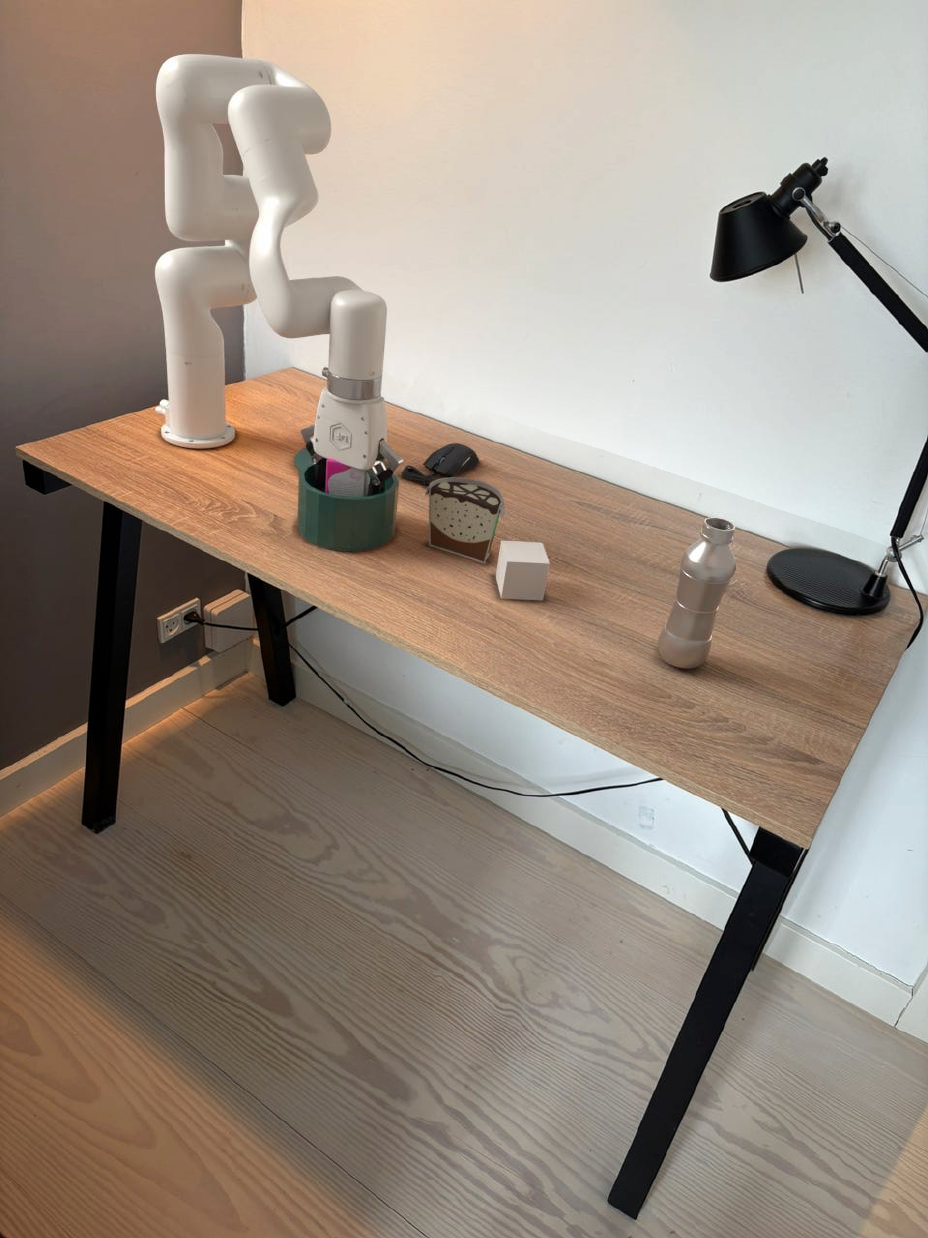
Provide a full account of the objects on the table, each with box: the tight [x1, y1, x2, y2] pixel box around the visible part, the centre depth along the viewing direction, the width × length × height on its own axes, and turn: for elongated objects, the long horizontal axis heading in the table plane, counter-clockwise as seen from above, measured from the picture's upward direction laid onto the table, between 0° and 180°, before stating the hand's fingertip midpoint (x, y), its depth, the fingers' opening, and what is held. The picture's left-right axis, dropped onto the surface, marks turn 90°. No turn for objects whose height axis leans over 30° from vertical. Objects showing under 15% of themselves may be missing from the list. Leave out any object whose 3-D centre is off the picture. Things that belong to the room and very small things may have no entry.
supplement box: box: [326, 458, 370, 497], centre depth 140 cm, size 6×6×12 cm
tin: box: [297, 463, 400, 552], centre depth 141 cm, size 15×15×8 cm
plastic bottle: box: [657, 516, 737, 670], centre depth 117 cm, size 6×7×20 cm
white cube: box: [495, 540, 551, 601], centre depth 132 cm, size 6×6×6 cm
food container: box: [424, 476, 506, 565], centre depth 140 cm, size 12×6×10 cm, turn 65°
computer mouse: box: [401, 442, 480, 487], centre depth 163 cm, size 12×17×4 cm
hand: (348, 495), depth 140 cm, fingers open, 9 cm apart
